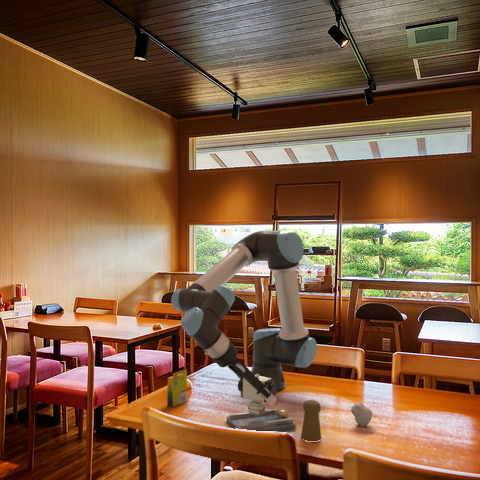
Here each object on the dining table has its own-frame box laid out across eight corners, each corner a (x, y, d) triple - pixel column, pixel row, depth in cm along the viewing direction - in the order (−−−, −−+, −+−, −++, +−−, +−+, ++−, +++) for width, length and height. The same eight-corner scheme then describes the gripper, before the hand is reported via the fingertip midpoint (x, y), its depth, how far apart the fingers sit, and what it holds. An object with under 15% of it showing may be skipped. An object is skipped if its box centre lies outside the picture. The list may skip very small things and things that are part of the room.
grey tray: (276, 415, 151) (277, 403, 151) (295, 429, 139) (296, 416, 139) (226, 421, 145) (226, 409, 145) (241, 437, 132) (242, 423, 133)
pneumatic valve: (269, 419, 136) (270, 379, 137) (236, 411, 142) (237, 372, 143) (277, 413, 141) (278, 375, 141) (245, 406, 147) (246, 369, 147)
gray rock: (348, 421, 147) (349, 399, 147) (370, 422, 147) (370, 400, 147) (352, 428, 141) (353, 406, 141) (375, 429, 141) (375, 407, 141)
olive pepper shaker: (298, 434, 135) (299, 397, 136) (318, 434, 136) (319, 397, 136) (303, 443, 129) (304, 404, 130) (323, 443, 130) (324, 404, 130)
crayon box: (180, 400, 164) (181, 367, 165) (186, 401, 163) (187, 369, 163) (166, 405, 158) (167, 371, 159) (172, 407, 157) (173, 373, 157)
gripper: (201, 351, 147) (244, 395, 152) (225, 368, 126) (274, 419, 131) (217, 334, 149) (259, 378, 154) (243, 348, 128) (291, 399, 133)
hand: (266, 397), depth 143 cm, fingers closed on pneumatic valve, 10 cm apart
